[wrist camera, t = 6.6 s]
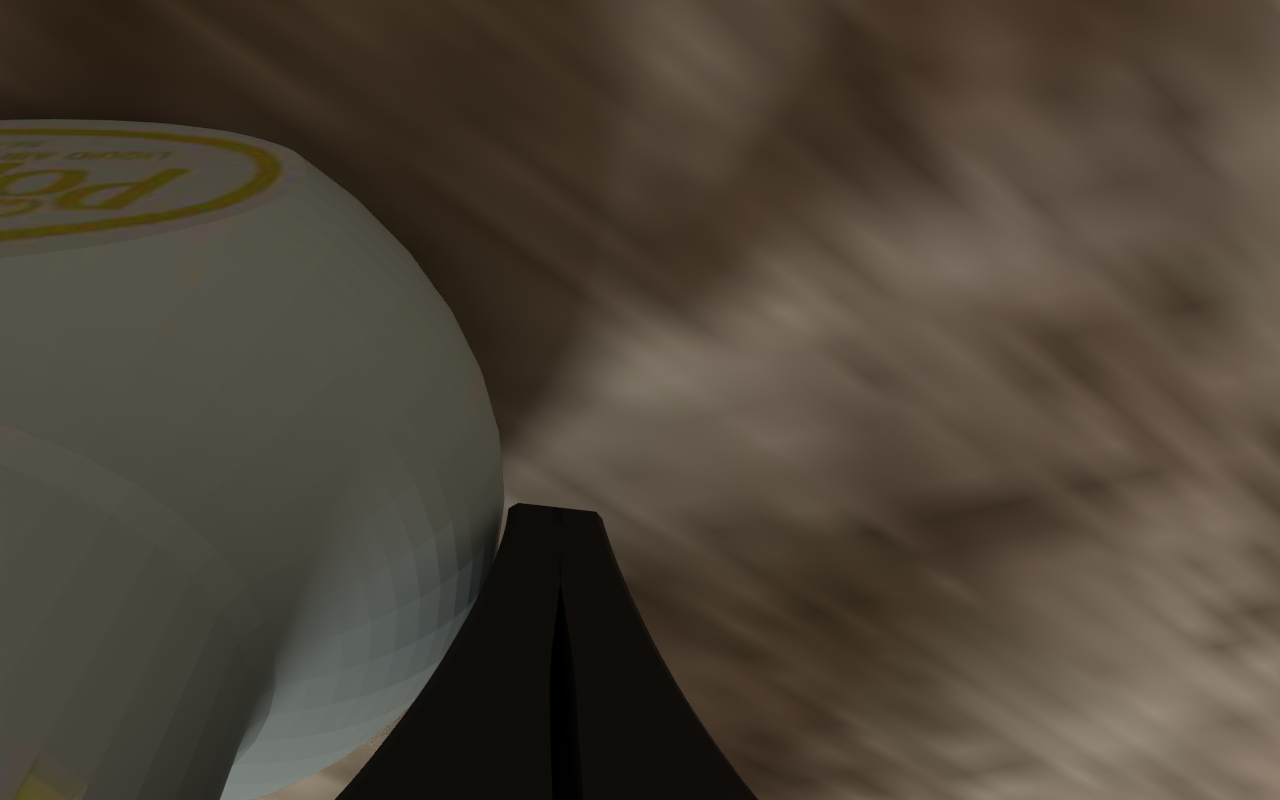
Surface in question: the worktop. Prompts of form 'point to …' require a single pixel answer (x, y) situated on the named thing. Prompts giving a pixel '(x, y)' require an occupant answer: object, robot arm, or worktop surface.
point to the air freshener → (219, 466)
